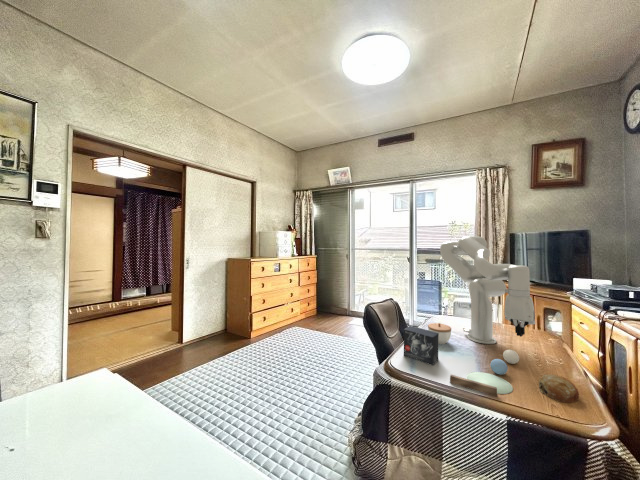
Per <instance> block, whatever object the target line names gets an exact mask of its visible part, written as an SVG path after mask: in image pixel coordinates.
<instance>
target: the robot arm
mask: <svg viewBox="0 0 640 480" xmlns="http://www.w3.org/2000/svg"><path fill="white" fill-rule="evenodd" d="M487 247H488V242H487V240H486V239H485V238H484V237H482V236H475V235H473V236H471V235H470V236H469V235H468V236H463V237H461V238H459V240H449V241H445V242H443V243H442V244H441V245H440V248H439V253H440V256H441V258H442V260H443V261H444V263H445V264H447V265H448V266H449V267H450V268H451V269H452V270H453V271H454V272H455V273H456V274H457V276H459V278H460V279H461V280H462V281H463V282H465V283H468V291H469V296H470V327H467V326H463V327H462V330H463V332H465V333H468V334H467V338H468V340H470V341H472V342H475V343H480V344H484V345H493V344H496V343H497V339H496V338H495V337H494V336H493V329H494V327H493V323H494V322H493V318H494V317H493V313H494V312H493V311H494V309H493V303H492V301H491V300H490V297H491V298H492V297H494V298H495V297H501V296H503V295H505V294H506V293H507V295H505V300H504V311H503V313H504V319H505V320H506V321H509V322H511V323H512V324H513V325H514V326H513V327H515V328H514V330H515V334H516V336H518V337H523V336H524V335H525V333H526V331H525V327H526V326H528V325H530V326H531V325H536V321H535V319H536V311H535V306H534V301H533V298H532V297H531V287H530V283H531V280H530V279H531V277H530V275H531V274H530V268H529V267H528V265H519V264H511V263H492V262H490V261H489V260H488V258H489V257H490V255H491V252H490V249H489V248H487ZM461 256H468V257H470V258H471V259H472V260H473V261H474V265H473V264H471V263H470V262H469V261H468V260H466V259H465V258H463V257H461ZM505 281H507V282H508V288H507V285H506V283H505Z"/></svg>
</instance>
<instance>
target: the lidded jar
mask: <svg viewBox="0 0 640 480" xmlns="http://www.w3.org/2000/svg"><path fill="white" fill-rule="evenodd" d="M427 327H428V328H427V330H429V331H433V332H437V333H439V335H438V345H445V344H447V342H449V340H450V339H451V335H452V327H451V326H449V325H447V324H444V323H441V322H438V323H437V322H435V323H434V322H432V323H428V325H427Z"/></svg>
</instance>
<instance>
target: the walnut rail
mask: <svg viewBox="0 0 640 480" xmlns="http://www.w3.org/2000/svg"><path fill="white" fill-rule="evenodd" d="M449 380H450V381H449V383H450V384H453V385H457V386H459V387H463V388H467V389H470V390H474V391H476V392H480V393H483V394H487V395H490V396H493V397H498V394H497V387H493V386H490V385H486V384H483V383H479V382H476V381H472V380H469V379H467V378H465V377H461V376H457V375H454V374H450V375H449Z"/></svg>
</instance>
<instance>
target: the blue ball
mask: <svg viewBox="0 0 640 480" xmlns="http://www.w3.org/2000/svg"><path fill="white" fill-rule="evenodd" d="M490 369H491V370H492V372H493V373H495V374H496V375H505V374H507V372H508V365H507V362H506V361H505V360H502V359H501V358H494V359H492V360H491V361H490Z"/></svg>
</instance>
